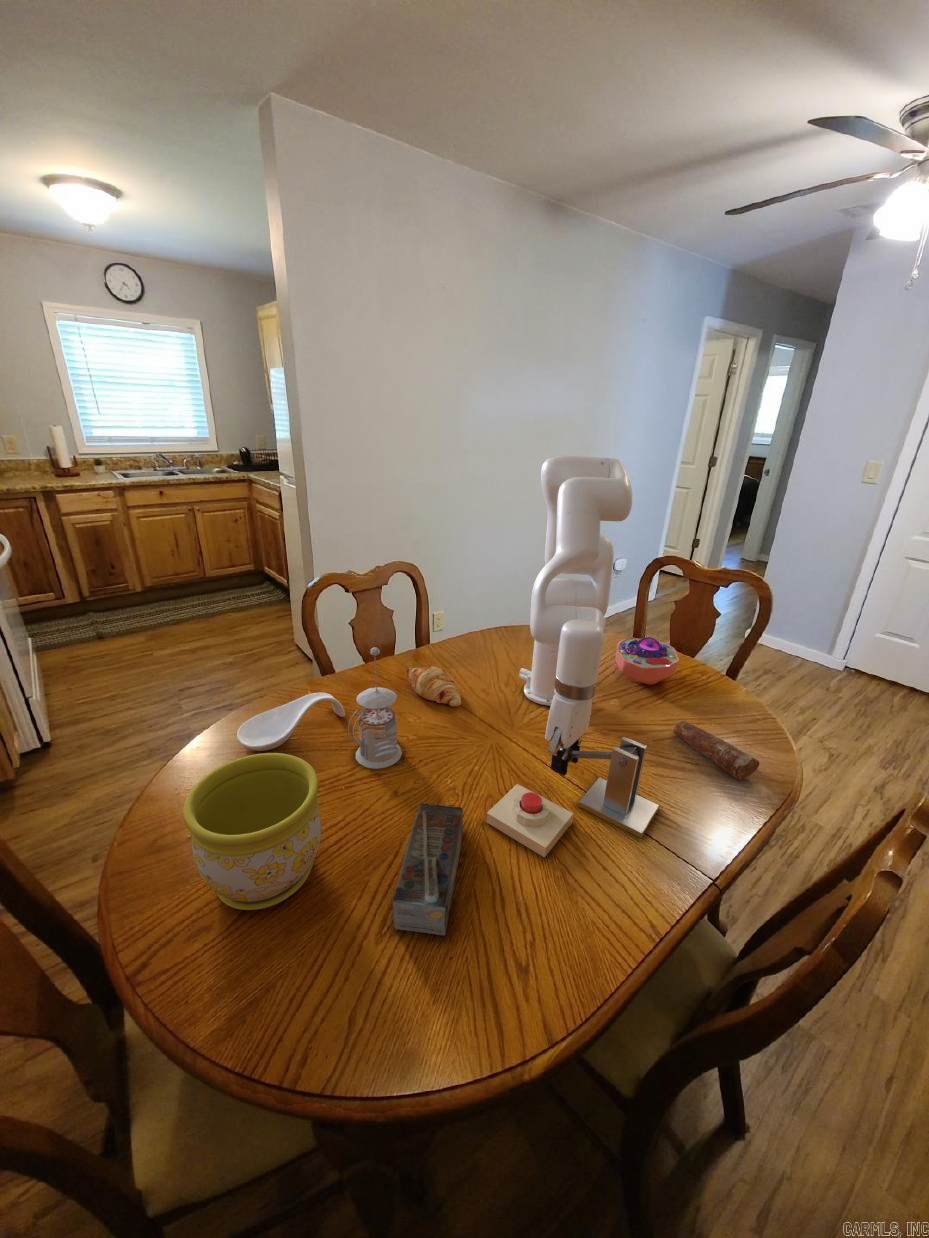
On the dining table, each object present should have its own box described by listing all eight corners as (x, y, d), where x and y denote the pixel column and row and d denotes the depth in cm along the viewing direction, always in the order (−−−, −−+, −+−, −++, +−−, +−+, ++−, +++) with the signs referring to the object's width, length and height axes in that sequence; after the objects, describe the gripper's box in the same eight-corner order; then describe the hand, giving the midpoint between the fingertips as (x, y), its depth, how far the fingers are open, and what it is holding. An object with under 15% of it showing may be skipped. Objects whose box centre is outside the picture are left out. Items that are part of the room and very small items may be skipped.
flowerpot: (291, 940, 69) (279, 850, 62) (174, 915, 71) (150, 827, 65) (343, 839, 85) (337, 760, 79) (246, 822, 88) (233, 744, 81)
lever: (557, 765, 98) (552, 750, 98) (564, 757, 101) (560, 742, 100) (634, 768, 88) (630, 752, 87) (641, 760, 90) (636, 743, 90)
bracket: (578, 806, 94) (587, 745, 89) (598, 781, 101) (608, 723, 96) (641, 838, 87) (655, 775, 82) (658, 809, 94) (672, 749, 89)
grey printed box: (390, 930, 70) (389, 897, 68) (418, 827, 88) (418, 798, 85) (446, 939, 69) (447, 905, 67) (463, 833, 87) (464, 803, 85)
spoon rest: (252, 767, 101) (247, 737, 98) (230, 740, 109) (225, 712, 106) (353, 723, 117) (352, 696, 114) (327, 702, 124) (325, 677, 122)
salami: (737, 787, 101) (744, 764, 99) (667, 734, 117) (671, 714, 115) (759, 779, 103) (766, 757, 101) (687, 728, 119) (692, 708, 117)
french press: (411, 753, 107) (410, 648, 97) (367, 779, 99) (361, 667, 89) (382, 734, 113) (379, 633, 103) (338, 757, 105) (330, 650, 96)
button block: (486, 822, 90) (487, 804, 88) (516, 792, 97) (517, 776, 95) (544, 857, 83) (546, 839, 81) (572, 822, 90) (574, 805, 89)
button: (516, 807, 88) (517, 800, 88) (527, 796, 91) (528, 789, 90) (534, 817, 86) (535, 809, 86) (544, 806, 89) (545, 798, 88)
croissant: (467, 716, 127) (479, 688, 126) (441, 714, 119) (454, 683, 119) (415, 683, 140) (425, 657, 140) (389, 679, 133) (400, 651, 132)
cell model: (600, 682, 139) (606, 645, 135) (624, 656, 154) (630, 623, 150) (663, 702, 130) (671, 663, 126) (681, 673, 145) (689, 637, 141)
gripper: (577, 663, 101) (567, 739, 108) (534, 696, 88) (525, 779, 95) (612, 675, 96) (599, 753, 103) (572, 711, 84) (561, 797, 91)
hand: (564, 765), depth 99 cm, fingers open, 4 cm apart
